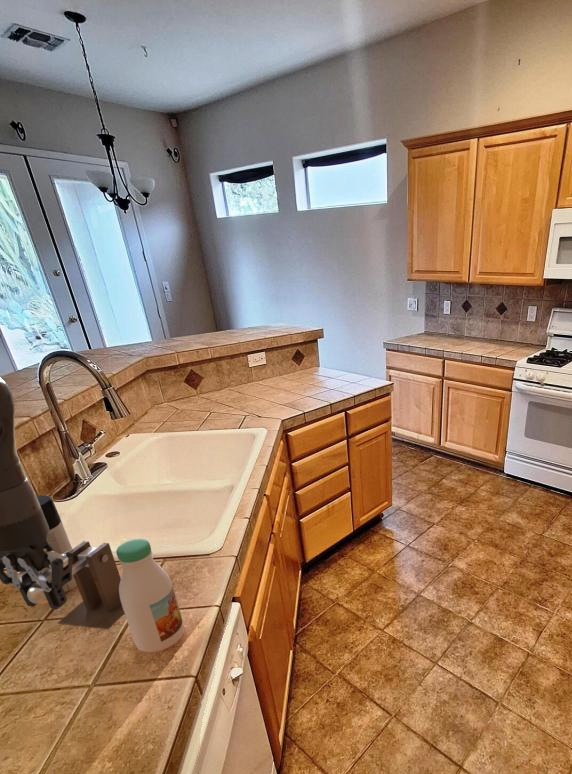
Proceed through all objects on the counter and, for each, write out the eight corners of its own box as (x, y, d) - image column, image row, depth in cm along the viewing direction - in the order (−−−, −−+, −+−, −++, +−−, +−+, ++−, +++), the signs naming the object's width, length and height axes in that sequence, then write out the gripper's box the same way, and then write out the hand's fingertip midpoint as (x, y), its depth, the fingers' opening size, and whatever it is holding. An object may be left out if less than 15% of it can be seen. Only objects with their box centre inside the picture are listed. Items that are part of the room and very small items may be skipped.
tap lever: (46, 610, 68) (38, 591, 66) (25, 607, 68) (17, 589, 66) (107, 561, 79) (102, 545, 78) (90, 559, 80) (84, 543, 78)
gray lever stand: (110, 633, 77) (86, 571, 71) (59, 627, 78) (32, 566, 72) (152, 590, 88) (135, 533, 82) (107, 585, 89) (87, 528, 83)
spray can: (93, 579, 90) (61, 495, 82) (65, 600, 84) (28, 513, 76) (65, 575, 91) (31, 492, 82) (36, 596, 85) (-4, 509, 76)
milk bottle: (146, 664, 71) (113, 566, 62) (130, 640, 76) (96, 546, 67) (193, 638, 76) (168, 545, 67) (175, 617, 81) (149, 527, 72)
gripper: (72, 503, 65) (104, 593, 72) (-10, 497, 67) (29, 585, 74) (27, 529, 58) (68, 625, 66) (-63, 521, 60) (-14, 616, 67)
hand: (47, 603), depth 70 cm, fingers closed on tap lever, 3 cm apart
